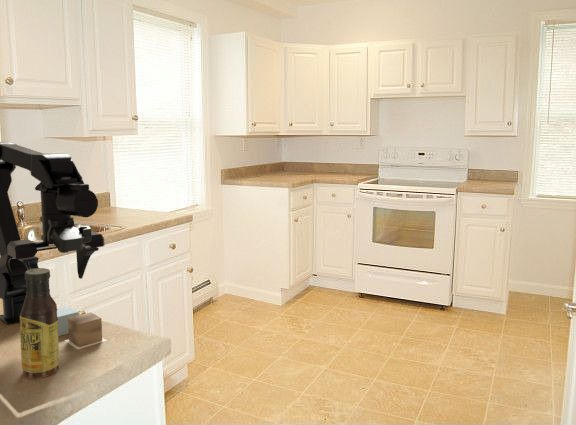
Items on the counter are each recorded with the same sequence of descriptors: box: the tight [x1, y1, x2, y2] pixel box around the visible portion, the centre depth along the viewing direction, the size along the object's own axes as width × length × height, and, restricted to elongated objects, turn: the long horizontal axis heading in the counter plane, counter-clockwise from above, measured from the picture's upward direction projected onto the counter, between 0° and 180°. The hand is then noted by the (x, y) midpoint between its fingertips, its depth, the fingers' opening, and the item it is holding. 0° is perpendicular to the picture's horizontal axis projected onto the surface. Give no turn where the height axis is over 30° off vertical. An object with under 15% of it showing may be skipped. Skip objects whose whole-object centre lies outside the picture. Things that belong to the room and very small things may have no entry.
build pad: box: [64, 337, 108, 350], centre depth 107 cm, size 10×10×1 cm
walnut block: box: [68, 311, 103, 347], centre depth 107 cm, size 5×5×5 cm
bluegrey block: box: [57, 306, 79, 337], centre depth 112 cm, size 5×5×5 cm
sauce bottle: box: [19, 267, 60, 379], centre depth 92 cm, size 7×6×20 cm
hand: (59, 282), depth 111 cm, fingers open, 9 cm apart
